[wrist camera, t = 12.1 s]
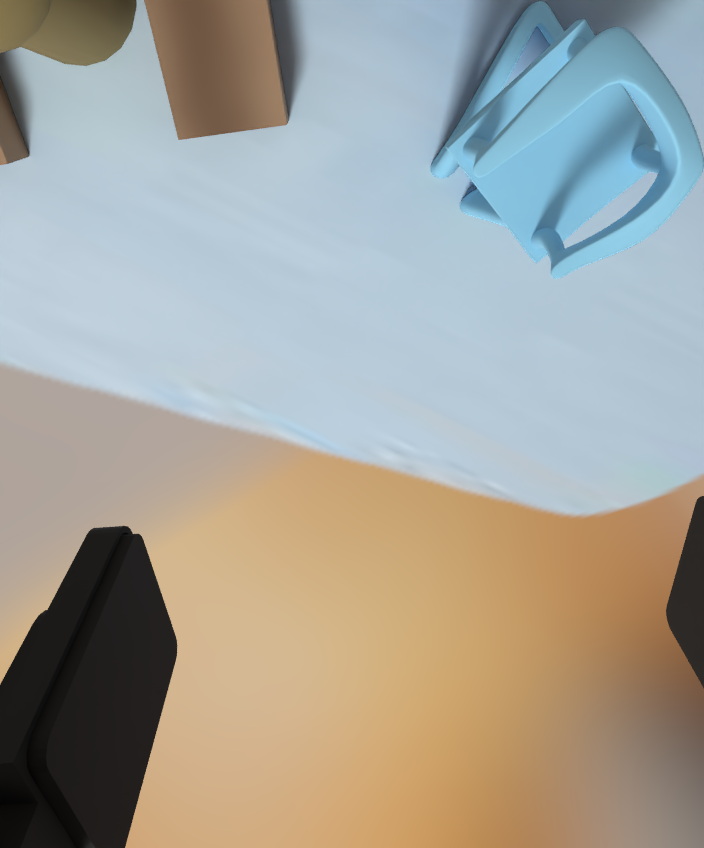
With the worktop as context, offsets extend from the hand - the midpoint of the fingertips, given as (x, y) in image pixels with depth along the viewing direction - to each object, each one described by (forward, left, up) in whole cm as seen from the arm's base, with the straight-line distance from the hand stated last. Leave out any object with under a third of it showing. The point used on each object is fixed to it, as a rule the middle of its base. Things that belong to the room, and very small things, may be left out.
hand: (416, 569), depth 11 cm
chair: (-9, -3, -26) cm, 28 cm away
